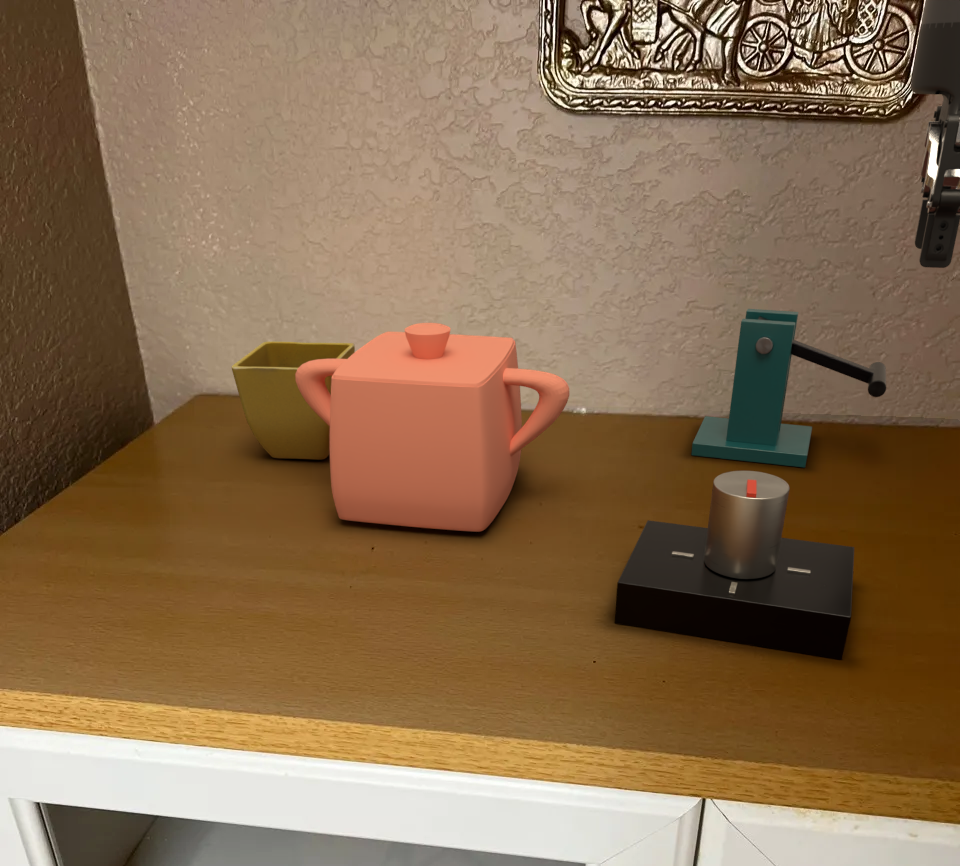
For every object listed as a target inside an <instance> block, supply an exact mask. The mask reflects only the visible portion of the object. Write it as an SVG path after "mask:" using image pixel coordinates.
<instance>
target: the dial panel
mask: <svg viewBox="0 0 960 866" xmlns="http://www.w3.org/2000/svg"><path fill="white" fill-rule="evenodd" d="M707 530H708V527H703V526H696V525H687V524H679V523H672V522H664V521H656V520H650V519H649V520H647V521H646V523H645V524H644V527H643V529H642V531H641V533H640V535H639V537H638V539H637V541H636V544H635V546H634V547H633V550H632V552H631V554H630V556H629V558H628V560H627V561H626V564H625V566H624V568H623V570H622V572H621V574H620V576H619V578H618V580H617V585H616V598H615V610H614V611H615V612H614V623H615V624H619V625H625V626H632V627H637V628H644V629H651V630H656V631H662V632H669V633H674V634H679V635H686V636H693V637H698V638H704V639H705V638H706V639H711V640H717V641H718V640H719V641H724V642H730V643H736V644H742V645H747V646H748V645H750V646H756V647H761V648H766V649H773V650H779V651H786V652H792V653H797V654H799V653H800V654H803V655H804V654H805V655H811V656H816V657H817V656H818V657H822V658H829V659H835V660H843V656H844V652H845V648H846V643H847V637H848V634H849V628H850V625H851V619H852V609H853V608H852V607H853V606H852V604H853V587H854V586H853V583H854V567H855V565H854V564H855V546H849V545H842V544H841V545H840V544H832V543H827V542H826V543H825V542H819V541H818V542H817V541H810V540H803V539H795V538H787V537H781V543H780V549H779V555H778V561H777V567H776V570H775V571H774V572H773V573H772V574H770V575H768V576H766V577H762V578H757V579H738V578H732V577H727V576H724V575H721V574H718V573H716V572H714V571H712V570H711V569H709V568H708V567H707V566H706V564H705V562H704V554H705V546H706V538H707Z"/></svg>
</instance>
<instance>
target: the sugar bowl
mask: <svg viewBox="0 0 960 866" xmlns="http://www.w3.org/2000/svg"><path fill="white" fill-rule="evenodd" d="M451 329H452V328H451V327H450V326H448V325H446V324H443V323H439V322H419V323H414V324H411V325H409V326H406V327H405V328H404V331H385V332H383V333H381V334H378V335H377V336H375V337H374V338H372V339H371V340H369V341H368V342H367V343H365V344H364V345H362V346H361V347H360V348H358V349H357V350H355V353H353V354H352V355H351V356H350V357H349V358H348V359H317V360H312V361H308V362H306V363H304V364H302V365H301V366H300V367H299V368H298V369H297V371H296V374H295V377H296V383H297V386H298V389H299V391H300V392H301V394H302V396H303V398H304V399H305V401H306V402H307V403H308V405H309V406H310V407H311V408H312V409H313V410H314V411H315V412H316V413H317V414H318V416H320V417H321V418H322V419H323V420H324V421H325V422H326V423H327V424H328V425H329V426H330V454H329V469H330V470H329V471H330V485H331V493H332V498H333V503H334V506H335V510H336V514H337V516H338V519H340V520H343V521H350V522H360V523H369V524H378V525H379V524H380V525H388V526H389V525H390V526H399V527H400V526H401V527H409V528H411V527H412V528H421V529H435V530H444V531H445V530H447V531H461V532H471V533H472V532H476V533H477V532H478V533H480V532H483V531H484V530H486V529H487V528H488V527H489V526H490V525H491V523H493V521H494V519H495V518H496V517H497V515H498V514H499V512H500V511H501V510H502V508H503V506H504V505H505V503H506V502H507V500H508V498H509V496H510V494H511V492H512V489H513V486H514V484H515V481H516V479H517V475H518V470H519V466H520V462H521V456H522V449H523V448H525V447H526V446H527V445H529V444H530V443H532V442H533V441H534V440H535V439H537V438H538V437H539V436H540V435H542V434H543V433H544V432H545V431H546V430H547V429H548V428H549V427H551V425H553V424H554V423H555V421H557V419H558V418H559V417H560V416H561V414H562V413H563V411H564V409H565V408H566V406H567V404H568V401H569V398H570V386H569V384H568V382H567V381H566V380H565V379H564V378H563V377H560V376H558V374H554V373H551V372H548V371H542V370H538V369H529V368H519V363H518V362H519V361H518V351H517V344H516V340H515V339H514V338H513V337H506V336H492V335H491V336H490V335H475V334H474V335H472V334H457V333H455V334H453V333H451ZM331 375H332V380H331V394H330V393H329V391H328V389H327V387H326V384H325V378H326V377H328V376H331ZM521 387H523V388H528V389H531V390H534V391H535V392H537V394H538V401H537V404H536V406H535V407H534V409H533V411H532V412H531V414H530V415H529V416H528V419H527V420H526V421H525V423H524V424H522V423H523V421H522V419H523V418H522V398H521V397H522V395H521Z"/></svg>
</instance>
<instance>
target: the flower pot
mask: <svg viewBox="0 0 960 866" xmlns="http://www.w3.org/2000/svg"><path fill="white" fill-rule="evenodd" d="M355 347H356V346H355V344H354V343H352V342H298V341H264V342H261V343H260V344H259V345H257V346H256V347H255V348H254V349H252V350H251V351H250V352H249V353H247V354H246V355H244V356H243V357H241V358H240V359H239V360H238V361H236V362H235V363H233V365H231V372H232V374H233V375H232V376H233V379H234V382H235V385H236V389H237V393H238V396H239V400H240V403H241V407H242V410H243V414H244V417H245V419H246V422H247V424H248V426H249V429H250V431H251V433H252V434H253V436H254V438H255V439H256V441H257V442H258V443H259V444H260V446H261V447H262V448H263V449H264V451H266V453H267V454H268V455H269V456H270V457H272V458H273V459H290V460H291V459H297V460H318V461H319V460H325V459H327V458H328V457H329V456H330V426H329V425H328V424H327V423H326V422H325V421H324V420H323V419H322V418H321V417H320V416H318V414H317V413H316V412H315V411H314V410H313V409H312V408H311V407H310V406H309V405H308V403H307V402H306V401H305V399H304V398H303V396H302V394H301V392H300V391H299V389H298V386H297V383H296V377H295V374H296V371H297V369H298V368H299V367H300V366H301V365H302V364H304V363H306V362H308V361H312V360H317V359H348V358H349V357H350V356H351V355H352V354H353V353H355V352H356V350H355ZM331 380H332V375H331V376H328V377H326V378H325V384H326V387H327V389H328V391H329V393H330V394H331Z"/></svg>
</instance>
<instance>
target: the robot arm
mask: <svg viewBox="0 0 960 866" xmlns="http://www.w3.org/2000/svg"><path fill="white" fill-rule="evenodd" d="M916 47H917V48H916V51H915V52H916V53H915V60H914V63H913V70H912V76H911V82H910V90H911V91H912V92H913V93H914V94H918V95H941V96H942V98H943V100H942V103H941V105H937V106H936V110H934V113H933V117H932V118H933V119H934V121H930V120H929V121H928V122H927V126H926V131H925V136H924V137H925V138H924V149H925V150H924V154H923V158H922V163H921V170H920V171H921V172H920V176H921V180H920V183H922V184H921V188H920V194H921V199H922V201H921V207H920V212H919V216H918V221H917V227H916V228H917V229H916V232H915V237H914V238H915V239H914V245H915V247H916V248H917V249H919V250H920V253H919V259H918V261H919V265H920V266H921V267H923V268H933V269H935V268H936V269H944V268H945V269H946V268H947V267H949V266H950V265H951V263H952V261H953V260H952V259H953V254H954V250H955V246H956V241H957V236H958V230H959V225H960V0H925V2H924V7H923V13H922V19H921V25H920V29H919V36H918V41H917V46H916Z"/></svg>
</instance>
